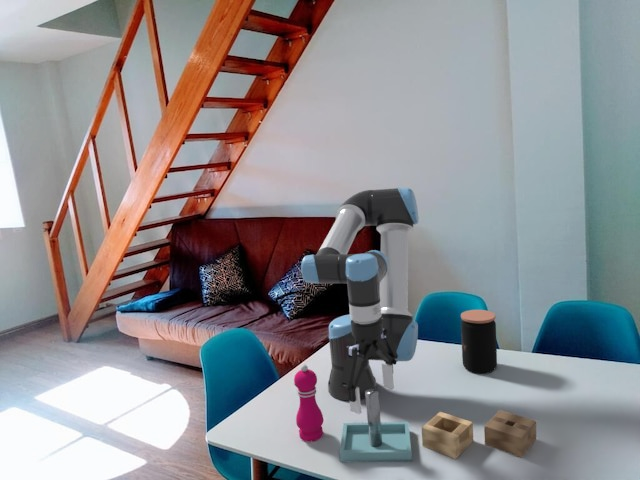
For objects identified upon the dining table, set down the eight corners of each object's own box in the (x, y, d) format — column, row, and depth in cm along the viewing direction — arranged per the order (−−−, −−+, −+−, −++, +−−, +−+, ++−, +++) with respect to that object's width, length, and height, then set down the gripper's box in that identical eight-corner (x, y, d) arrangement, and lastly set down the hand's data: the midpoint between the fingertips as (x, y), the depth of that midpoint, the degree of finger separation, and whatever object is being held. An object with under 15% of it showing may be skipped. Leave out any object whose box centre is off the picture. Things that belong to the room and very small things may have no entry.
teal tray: (340, 462, 119) (339, 452, 119) (344, 431, 132) (343, 423, 132) (411, 461, 117) (411, 452, 117) (408, 430, 130) (408, 421, 129)
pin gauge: (367, 444, 124) (362, 392, 122) (374, 438, 127) (370, 387, 124) (377, 448, 122) (372, 396, 120) (384, 442, 124) (380, 390, 122)
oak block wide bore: (422, 445, 123) (421, 427, 122) (440, 429, 129) (440, 411, 128) (455, 458, 116) (455, 439, 116) (473, 440, 123) (472, 422, 122)
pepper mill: (315, 445, 127) (307, 373, 123) (292, 439, 131) (284, 368, 127) (329, 431, 133) (323, 361, 129) (307, 425, 137) (300, 357, 133)
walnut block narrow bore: (484, 444, 121) (484, 426, 120) (500, 427, 127) (499, 409, 126) (522, 457, 115) (521, 438, 114) (536, 439, 121) (535, 420, 120)
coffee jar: (469, 358, 169) (467, 308, 166) (501, 363, 163) (499, 311, 159) (458, 371, 160) (455, 318, 157) (491, 377, 154) (489, 322, 151)
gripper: (344, 340, 107) (353, 428, 111) (408, 305, 125) (413, 382, 129) (319, 333, 112) (328, 418, 117) (383, 300, 130) (389, 375, 134)
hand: (373, 399), depth 123 cm, fingers open, 13 cm apart
